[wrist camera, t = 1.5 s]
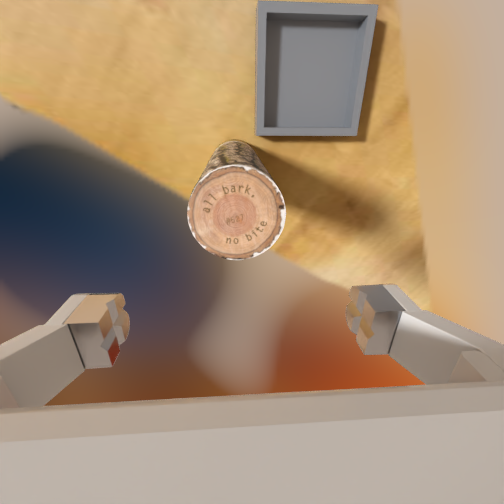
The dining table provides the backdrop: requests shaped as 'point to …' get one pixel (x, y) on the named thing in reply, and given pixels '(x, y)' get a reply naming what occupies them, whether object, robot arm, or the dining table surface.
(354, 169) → the dining table surface
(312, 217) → the dining table surface
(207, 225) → the paper tube
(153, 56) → the dining table surface
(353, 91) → the tray
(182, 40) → the dining table surface
